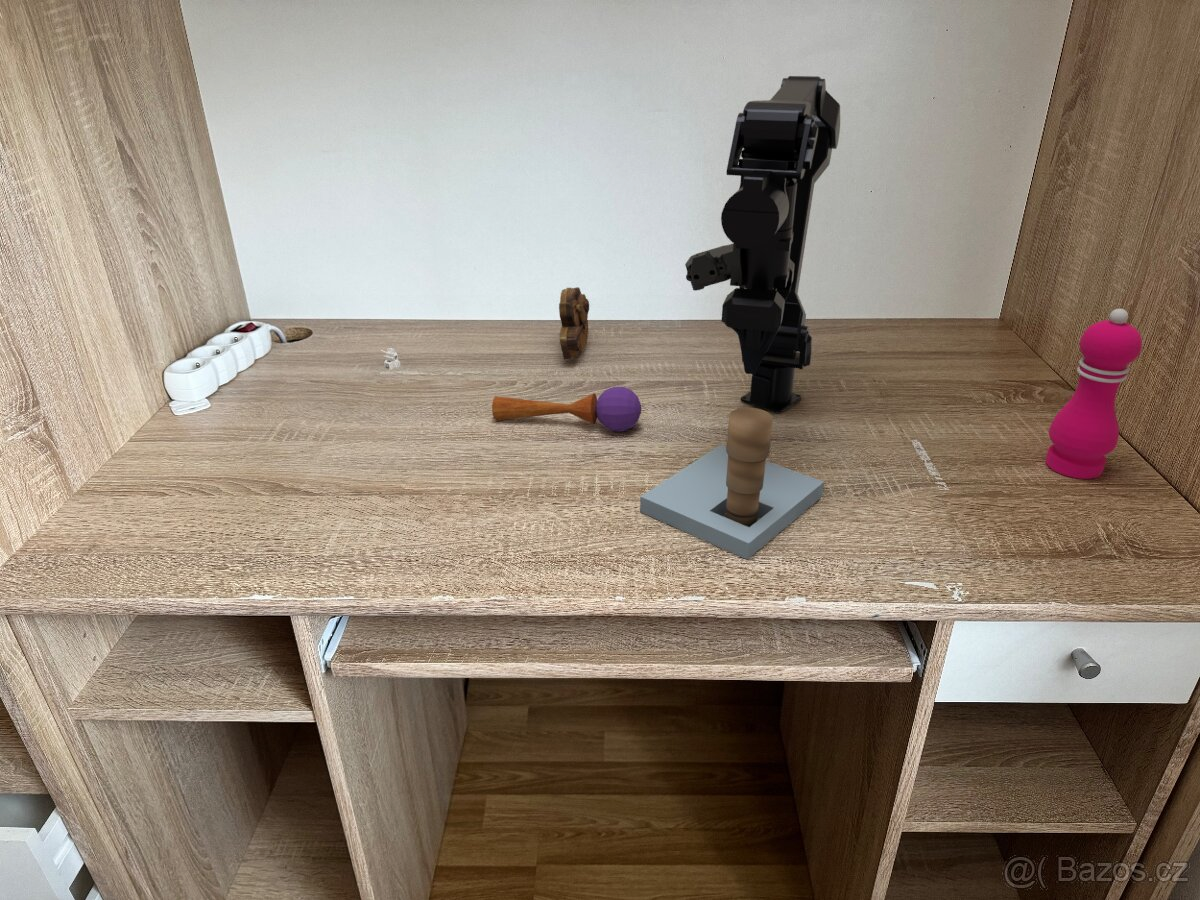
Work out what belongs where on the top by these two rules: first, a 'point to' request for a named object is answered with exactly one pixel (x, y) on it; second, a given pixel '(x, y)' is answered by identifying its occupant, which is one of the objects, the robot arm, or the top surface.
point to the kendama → (578, 408)
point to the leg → (746, 462)
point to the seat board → (702, 499)
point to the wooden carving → (573, 322)
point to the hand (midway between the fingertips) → (754, 358)
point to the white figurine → (391, 359)
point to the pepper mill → (1094, 399)
